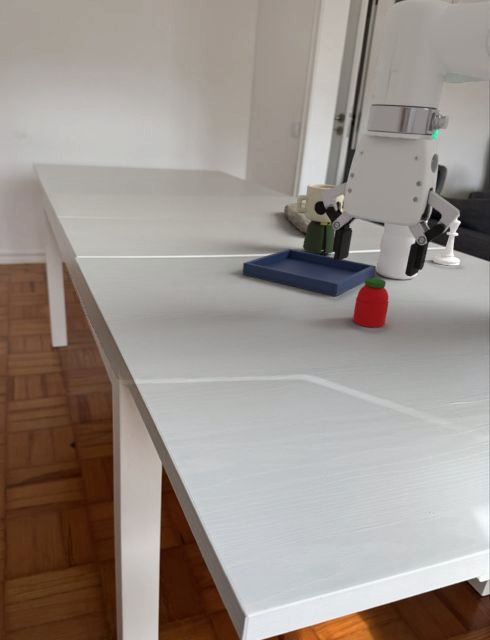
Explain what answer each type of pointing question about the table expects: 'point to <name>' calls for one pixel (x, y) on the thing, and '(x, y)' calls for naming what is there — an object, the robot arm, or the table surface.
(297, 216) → the elongated rock
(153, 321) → the table surface
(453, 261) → the chess piece
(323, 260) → the tray
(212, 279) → the table surface
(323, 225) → the character mug
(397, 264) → the water bottle
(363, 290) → the red sauce bottle
